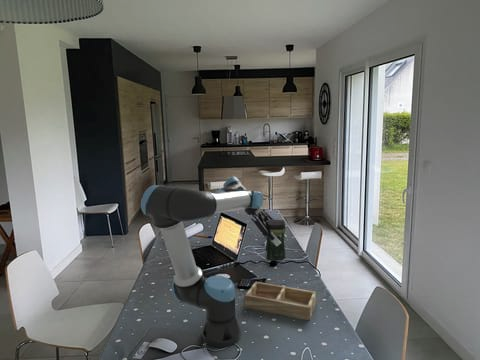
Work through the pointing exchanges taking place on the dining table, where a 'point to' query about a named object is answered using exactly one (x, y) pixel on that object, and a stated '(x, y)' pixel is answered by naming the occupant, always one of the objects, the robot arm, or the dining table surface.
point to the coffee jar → (271, 249)
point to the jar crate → (281, 300)
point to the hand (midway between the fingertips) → (282, 241)
